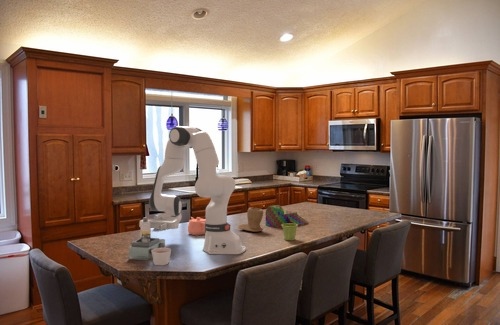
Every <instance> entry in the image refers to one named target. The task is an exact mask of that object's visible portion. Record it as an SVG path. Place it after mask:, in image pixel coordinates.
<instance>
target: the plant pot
mask: <svg viewBox="0 0 500 325" xmlns="http://www.w3.org/2000/svg"><path fill="white" fill-rule="evenodd" d="M297 227H299V226H298V225H297V224H293V223H287V224H282V227H281V228H282V230H283V238H284V239H283V240H286V241H291V242H292V241H295V240H296V233H297Z"/></svg>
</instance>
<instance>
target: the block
mask: <svg viewBox="0 0 500 325" xmlns="http://www.w3.org/2000/svg"><path fill="white" fill-rule="evenodd" d="M287 223H293V224H297V225H298V226H297V227H300V226H305V225H309V221H307V220H306V219H305V218H303V217H302V216H300V215H299V214H298V212H296V211H291V210H284V209H283V207H282V206H281V205H279V204H276V205H269V206H267V208H266V209H265V226H268V227H271V228H276V229H279V228H282V224H287Z"/></svg>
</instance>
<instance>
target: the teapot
mask: <svg viewBox="0 0 500 325" xmlns="http://www.w3.org/2000/svg"><path fill="white" fill-rule="evenodd" d="M190 218H191V219H189V220H188V226H187V232H188V234H190V235H192V236H197V237H198V236H200V235H204V236H205V223H206V218H201V217H198V216H197V217H196V218H194V217H192V216H190Z"/></svg>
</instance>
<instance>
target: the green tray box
mask: <svg viewBox="0 0 500 325" xmlns="http://www.w3.org/2000/svg"><path fill="white" fill-rule="evenodd" d="M155 248H166V239H164V238H163V239H162V238H158V237H151V242H149V243H142V242H141V237H140V238H139V239H136V240H133V241H131V245H129V246H128V249H129V250H128V256H129V258H128V259H129V260H137V261H139V260H140V261H149V260H151V259H153V257H152V252H151V250H153V249H155Z"/></svg>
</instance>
